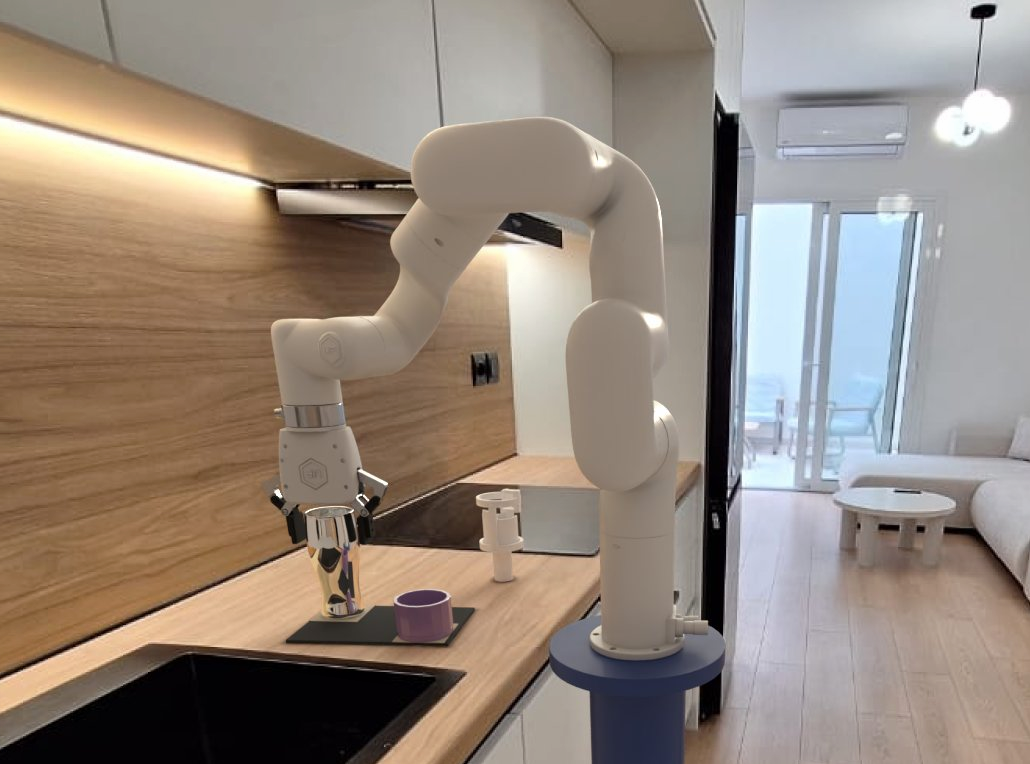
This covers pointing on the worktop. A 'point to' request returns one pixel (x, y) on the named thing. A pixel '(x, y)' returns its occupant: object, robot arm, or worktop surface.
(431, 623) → the dish
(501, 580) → the white tall plastic stand
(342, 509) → the beer glass
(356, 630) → the place mat
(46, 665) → the worktop surface
